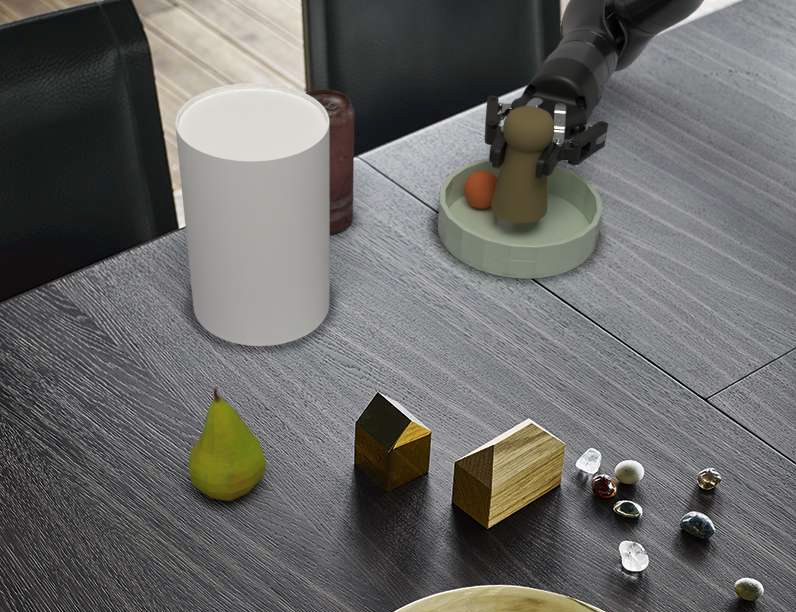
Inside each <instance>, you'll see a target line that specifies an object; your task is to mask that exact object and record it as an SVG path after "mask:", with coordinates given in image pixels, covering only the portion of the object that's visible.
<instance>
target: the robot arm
mask: <svg viewBox="0 0 796 612" xmlns="http://www.w3.org/2000/svg"><path fill="white" fill-rule="evenodd" d="M704 1H705V0H569V1H568V3H567V4H566V7H565V9H564V12H563V14H562V19H561V22H560V23H561V24H560V30H559V31H560V33H559V42H558V44H557V46H556V47H555V48H554V50H553V51H552V52H551V53H549V55H548V56H547V57H546V58H545V59H544V60H543V62H542V64H541V65H540V66H539V68H538V70H537V71H536V72H535V74H534V75H533V76H532V78H531V79H530V81H529V82H528V84H527V85H526V87H525V88H524V91H523V92H522V94H521V96H520V97H517V98H515V99H514V100H512V102H511V103H504V102H503V103H502V102H499V101H500V100H499V99H500V98H499V97H498V96H497V95H489V96H487V98H486V108H485V122H484V123H485V124H484V144H486V145H488V146H490V147H489V154H488V155H489V156H488V158H489V162H492V167H494V168H498V169H499V168H500V166H501V165H502V163H503V160H504V154H505V150H506V145H507V142H506V140H505V138H504V134H503V127H504V124H503V125H501V123H502V121H505V118H506V117H507V115H508V114H509V113H510V112H511V111H512V110H513V109H515V108H518V107H522V106H534V107H538V108H541V109H543V110H545V111H547V112H548V113H549V114H550V115H551V117H552V119H553V121H554V126H555V129H554V136H553V139H552V141H551V142H550V144H549V145H548V146H547V147H546V148H545V149H544V151H543V152H542V154H541V156H540V157H539V159H538V162H537V167H536V175H535V178H538V179H543V178H544V176H545V175H546V176H549V175H551V174H552V172H553V171H554V169H555V167H556V166H557V164H558V165H561V163H562V162H563V161H565V162H566V161H567V164H569V165H570V166H579V165H580V164H581V163H582V162H584V161H585V160H587V159H589V158H590V157H592V156H593V155H594V154H596V153H597V152H599V151H601V149H603V148H604V147H606V141H607V135H608V129H609V123H608V122H606V121H604V120H599V121H597V122H596V123H592V122H589V119H590V117H591V115H592V114H593V112H594V111H595V109H596V107H597V106H599V104H600V102H601V99H602V96H603V95H604V92H605V90H606V89H605V88H606V85H607V84H608V82H609V80H610V79H611V77H612V76H613V74H614V73H615V72H621V71H624V70H625V69H627V68H628V67H630V66H631V65H632V64H633V63H635V62H636V60H637V59H638V58H639V57H640V56H641V55H642V53H643V52H644V51H645V49H646V48H647V46H648V45H649V43H650V42H651V41H652V40H653V39H654V38H655V37H656V36H657V35H659V34H661V33H662V32H663V31H666V30H668V29H670V28H672V27H673V26H675V25H677V24H679V23H681V22H683V21H685V20H686V19H688V18H689V17H690V16H692V15H693V14H694V13H695V12H696V11H697V10H698V9H699V8H700V7H701V6H702V4H703V3H704ZM569 140H570V141H569Z"/></svg>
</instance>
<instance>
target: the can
mask: <svg viewBox="0 0 796 612" xmlns="http://www.w3.org/2000/svg"><path fill="white" fill-rule="evenodd" d="M305 93H306V94H308V95H309V96H311V97H313V98H314V99H316V100H317V101H318V102H319V103H320V104H321V105H322V106H323V107H324V108H325V109H326V111H327V113H328V116H329V229H330V236H332V235H336V234H337V235H338V234H340V233H341V232H344V231H345V230H347V228H348V227H349V226H350V224H351V223H352V222H353V217H354V168H355V166H354V165H355V109H354V106H353V104H352V102H351V99H350V98H349V97H348V95H346V94H344V93H342V92H340V91H338V90H337V91H336V90H333V89H325V88H324V89H314V90H309V91H307V92H305Z"/></svg>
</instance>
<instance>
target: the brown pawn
mask: <svg viewBox="0 0 796 612" xmlns="http://www.w3.org/2000/svg"><path fill="white" fill-rule="evenodd" d="M503 125H504V127H503V134H504V138H505V140H506V142H507V145H506V150H505V154H504V160H503V163H502V165H501V167H500V171H499V175H498V179H497V183H496V187H495V191H494V195H493V199H492V204H491V208H492V210H493V212H494V213H495V214H496V215H497V216H498V217H500V218H502V219H504V220H507V221H510V222H514V223H531V222H534V221H538V220H540V219H541V218H543V217H544V216H545V214H546V213H547V176H546V175H545V176H544V178H543V179H538V178H535V175H536V167H537V162H538V159H539V157H540V156H541V154H542V152H543V151H544V149H545V148H546V147H547V146H548V145H549V144H550V142H551V141H552V139H553V136H554V129H555V126H554V121H553V119H552V117H551V115H550V114H549V113H548V112H547V111H545V110H543V109H541V108H538V107H534V106H522V107H518V108H515V109H513V110H512V111H511V112H510V113H509V114H508V115H507V116H506V117H505V118H504V120H503Z"/></svg>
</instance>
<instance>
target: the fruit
mask: <svg viewBox="0 0 796 612" xmlns="http://www.w3.org/2000/svg"><path fill="white" fill-rule="evenodd" d="M213 397H214V398H213V400H212V402H211V403H210V405H209V406H208V409H207V411H206V415H205V422H204V428H203V430H202V432H201V434H200V437H199V439H198V440H197V441H196V442H195V444H193V447H191V449H190V451H189V456H188V469H189V470H188V473H189V477H190V482H191V484H192V485H193V486H194V487H195V489H197V490H198V491H200V492H202V493H203V494H205V495H206V496H207V497H209V498H211V499H216V500H220V501H221V500H222V501H228V502H231V501H234V500H235V499H239V498H240V497H242V496H244V495H247V494H248V493H249V492H250V491H251V490H252V489H253V488H254V487H255V486H256V485H257V484H258V483H259V482H260V481H261V479H262V478H264V475H265V474H266V469H267V468H266V467H267V460H266V457H265V454H264V453H265V452H264V451H263V448H262V447H263V446H262V444H261V442H260V440H259V439H258V438H257V436H256V435H255V434H254V433H253V431H252V430H251V429H250V428H249V426H248V425H247V423H245V421H244V420H243V419H242V418H241V416H240V415H239V413H238V412H237V411H236V410H235V409H234V408H233V406H231V404H229V403H228V402H226V400H225V399H223V397H222V396H221V395H218V388H217V386H215V387H214V388H213Z"/></svg>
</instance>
